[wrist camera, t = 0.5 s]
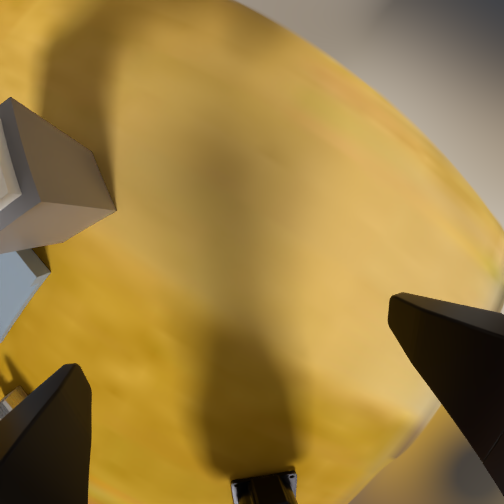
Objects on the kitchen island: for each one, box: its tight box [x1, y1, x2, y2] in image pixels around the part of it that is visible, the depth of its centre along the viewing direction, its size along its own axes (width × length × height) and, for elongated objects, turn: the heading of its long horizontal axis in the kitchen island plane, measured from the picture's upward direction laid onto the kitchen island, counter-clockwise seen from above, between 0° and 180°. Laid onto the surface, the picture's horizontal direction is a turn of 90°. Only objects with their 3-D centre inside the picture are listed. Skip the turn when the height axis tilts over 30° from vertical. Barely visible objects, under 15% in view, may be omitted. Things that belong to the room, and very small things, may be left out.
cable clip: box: [0, 385, 28, 420], centre depth 20 cm, size 4×3×3 cm
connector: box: [0, 97, 117, 254], centre depth 14 cm, size 5×5×13 cm
